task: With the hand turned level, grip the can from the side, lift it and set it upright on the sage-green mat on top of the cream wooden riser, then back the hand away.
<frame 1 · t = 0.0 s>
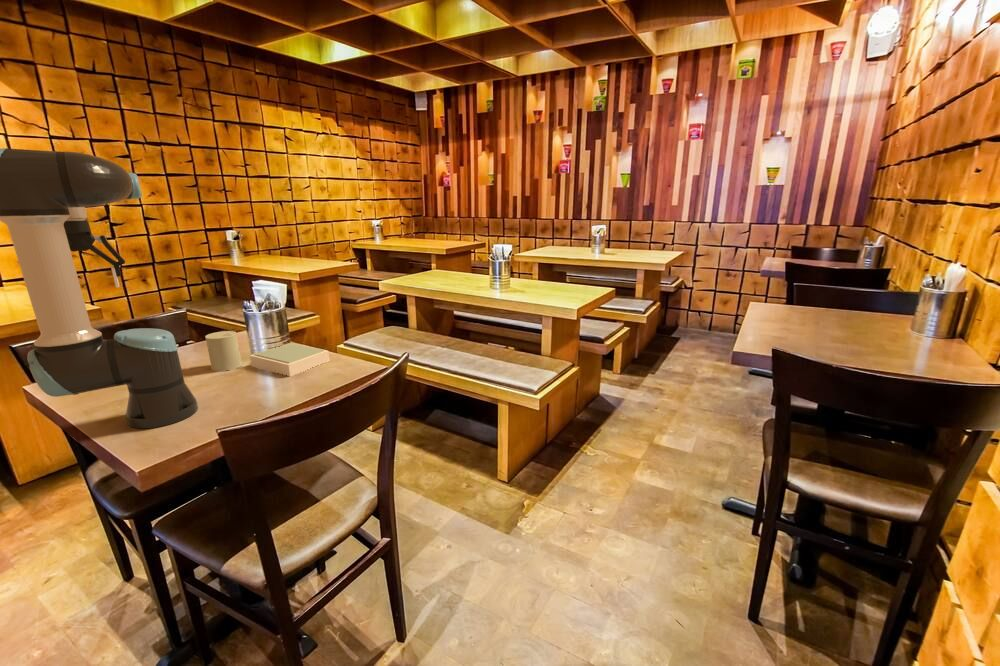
hand: (90, 289, 141), 28 cm above the table, tool pointing down, fingers open, 13 cm apart
can: (227, 367, 154), on the table
riser: (291, 363, 156), on the table
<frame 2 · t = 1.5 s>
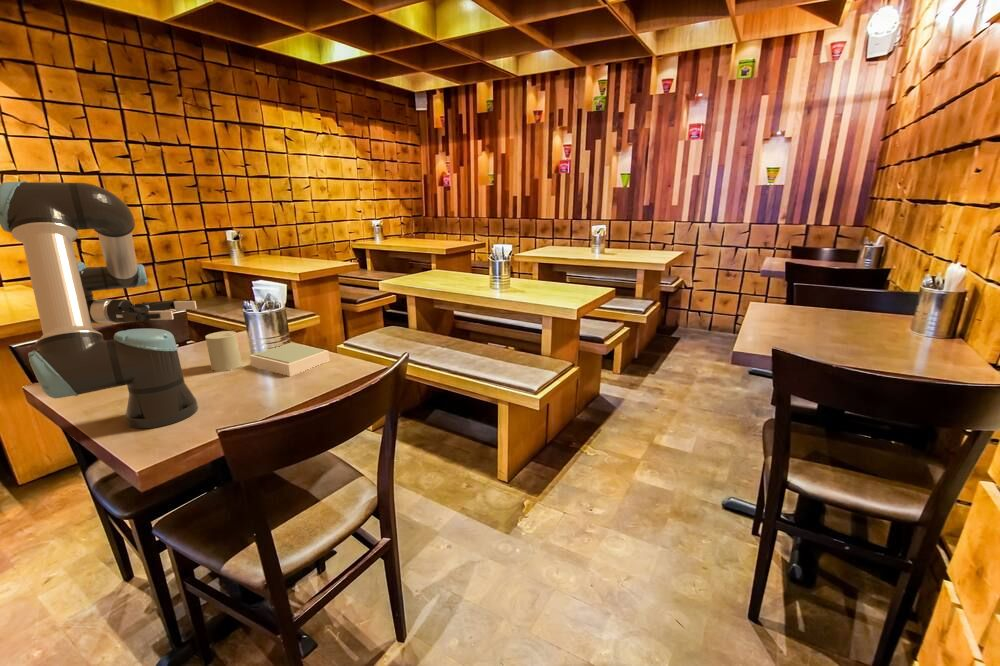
hand: (184, 309, 147), 20 cm above the table, tool horizontal, fingers open, 13 cm apart
nothing on the table moved.
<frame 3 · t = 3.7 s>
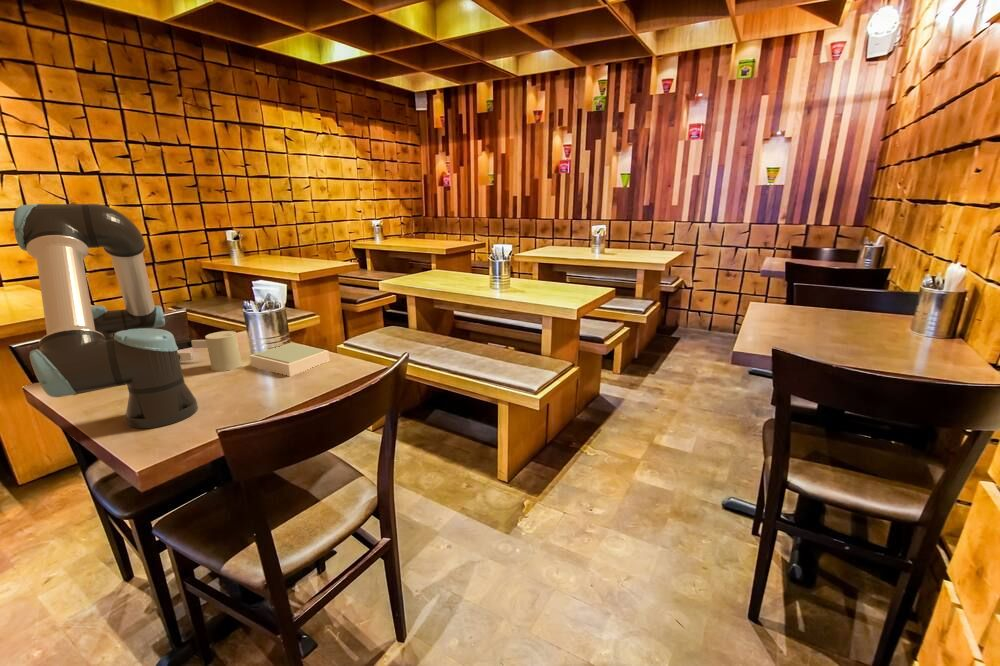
hand: (202, 349, 152), 6 cm above the table, tool horizontal, fingers open, 13 cm apart
nothing on the table moved.
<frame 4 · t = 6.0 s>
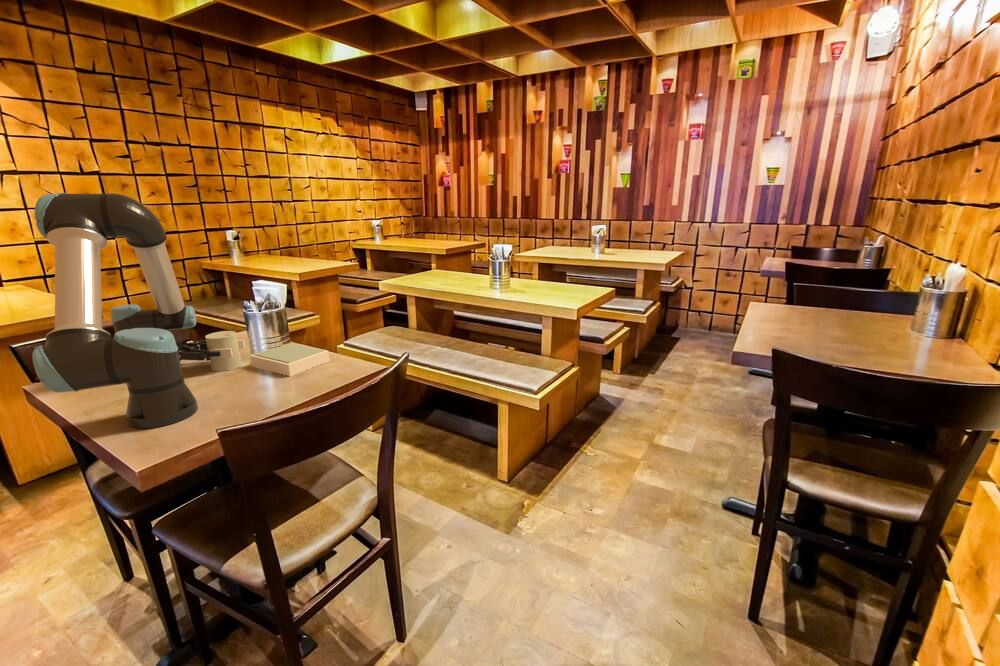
hand: (238, 348, 152), 7 cm above the table, tool horizontal, fingers closed on can, 9 cm apart
can: (227, 367, 154), on the table, touching gripper
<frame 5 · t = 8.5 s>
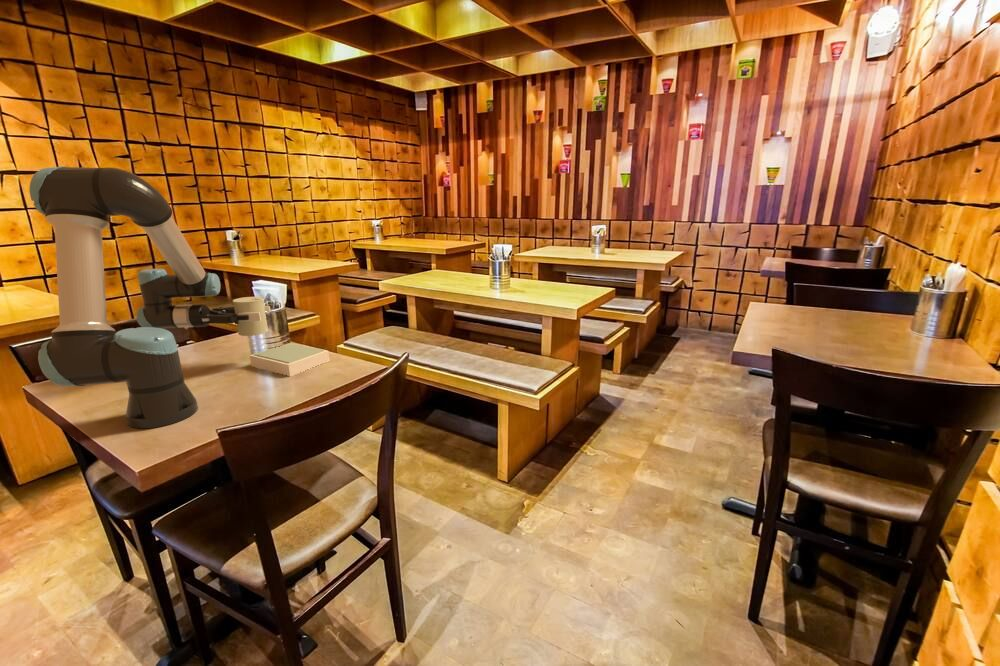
hand: (265, 313, 152), 18 cm above the table, tool horizontal, fingers closed on can, 9 cm apart
can: (253, 332, 153), point 11 cm above the table, touching gripper
when the fingers open (12 cm above the table, at t = 11.2 s): can drops 1 cm, resting on riser.
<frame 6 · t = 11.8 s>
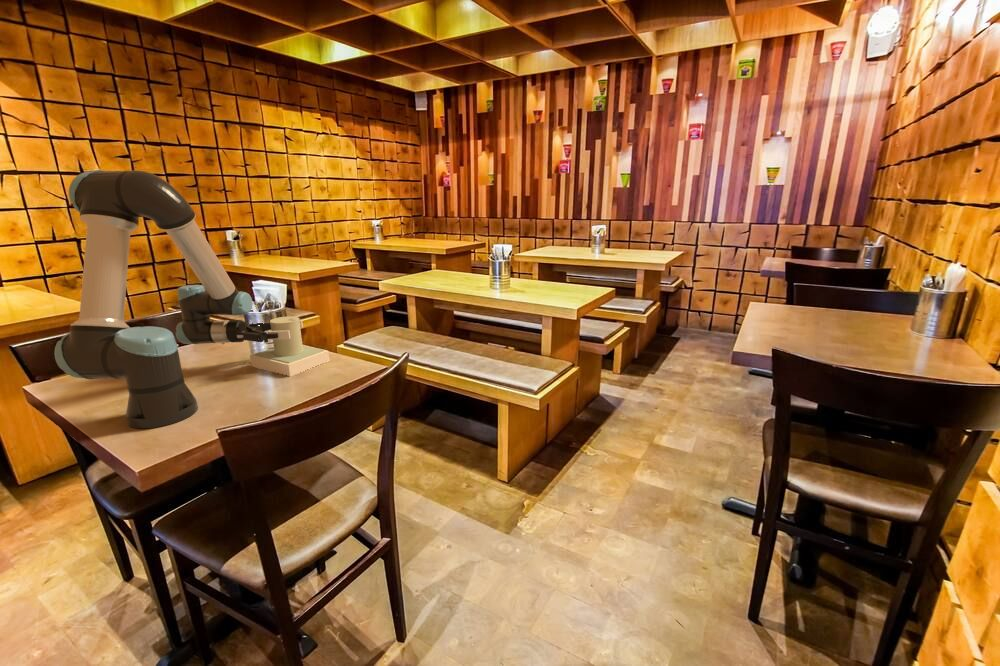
hand: (296, 329, 153), 12 cm above the table, tool horizontal, fingers open, 13 cm apart
can: (289, 352, 155), point 4 cm above the table, touching riser
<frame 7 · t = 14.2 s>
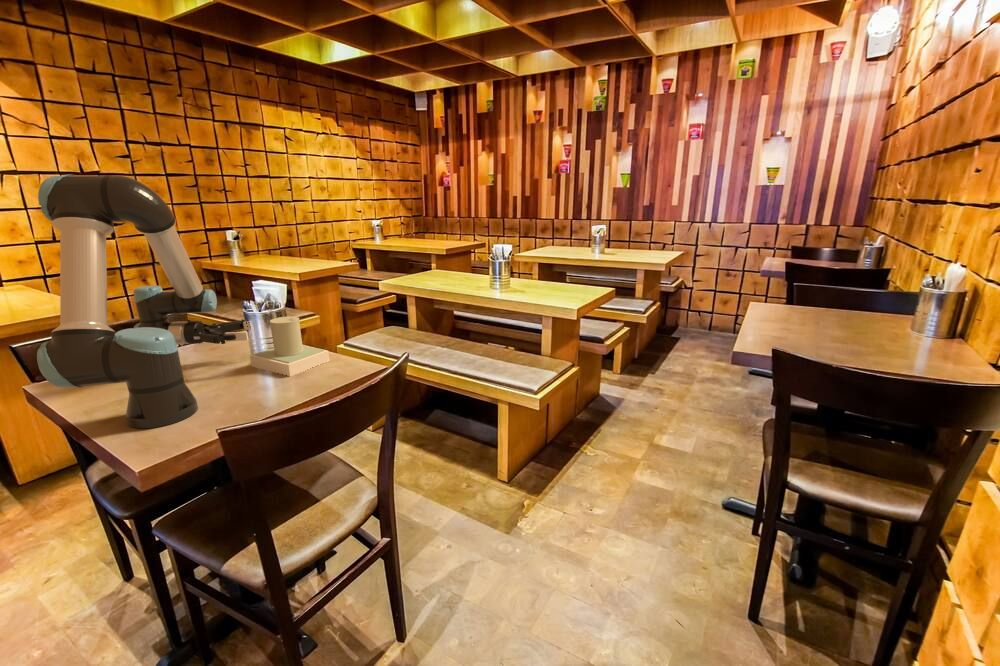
hand: (255, 330, 151), 13 cm above the table, tool horizontal, fingers open, 13 cm apart
nothing on the table moved.
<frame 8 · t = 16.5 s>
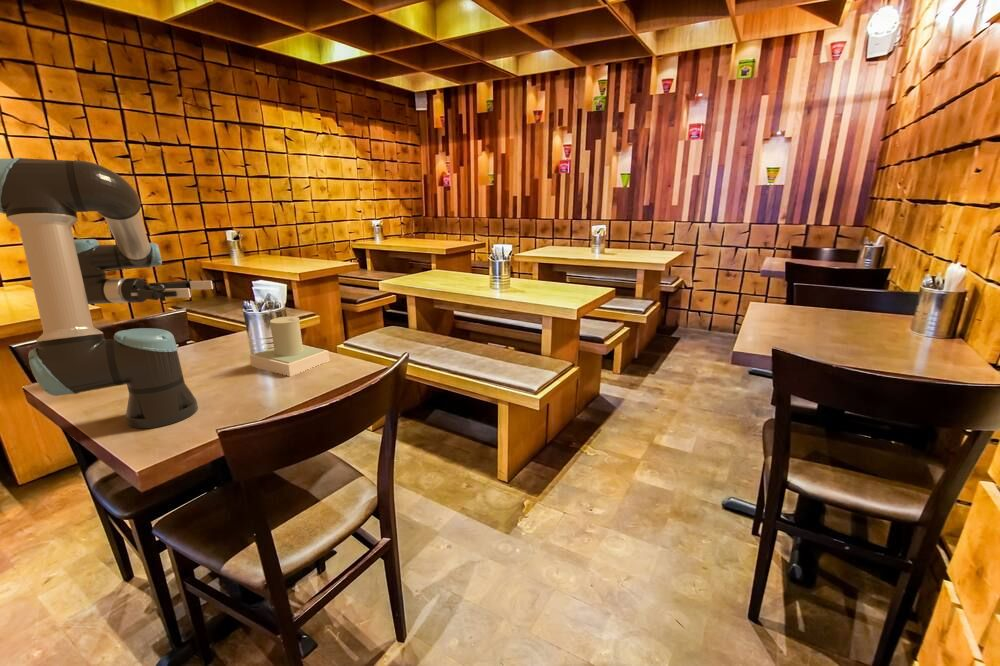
hand: (201, 288, 141), 28 cm above the table, tool horizontal, fingers open, 13 cm apart
nothing on the table moved.
at the end: can inside the target area on the riser (0.1 cm from its centre), point 4.2 cm above the riser's base; can tilted 0°; the gripper is holding nothing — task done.
